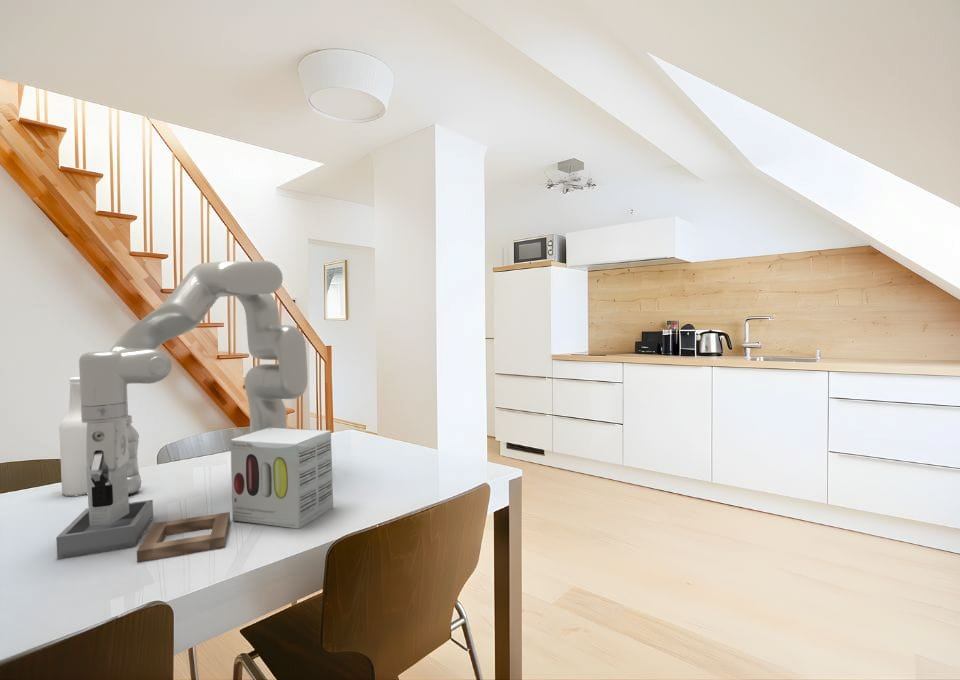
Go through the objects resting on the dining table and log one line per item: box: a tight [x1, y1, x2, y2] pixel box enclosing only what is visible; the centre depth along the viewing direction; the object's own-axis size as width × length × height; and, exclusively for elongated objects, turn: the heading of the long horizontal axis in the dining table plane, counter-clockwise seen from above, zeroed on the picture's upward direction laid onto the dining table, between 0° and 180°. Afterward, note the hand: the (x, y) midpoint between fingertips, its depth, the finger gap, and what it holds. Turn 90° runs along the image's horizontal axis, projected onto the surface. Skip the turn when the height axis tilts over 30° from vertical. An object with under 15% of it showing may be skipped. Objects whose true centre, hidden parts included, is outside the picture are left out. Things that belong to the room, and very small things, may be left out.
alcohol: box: [58, 376, 88, 497], centre depth 129 cm, size 9×9×30 cm
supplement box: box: [230, 428, 334, 530], centre depth 110 cm, size 17×13×18 cm
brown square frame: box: [136, 511, 231, 563], centre depth 98 cm, size 14×14×2 cm
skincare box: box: [86, 462, 130, 526], centre depth 100 cm, size 6×4×12 cm
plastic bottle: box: [125, 414, 142, 495], centre depth 126 cm, size 6×7×20 cm
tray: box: [56, 499, 154, 560], centre depth 100 cm, size 12×16×4 cm
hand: (108, 499), depth 100 cm, fingers closed on skincare box, 6 cm apart
